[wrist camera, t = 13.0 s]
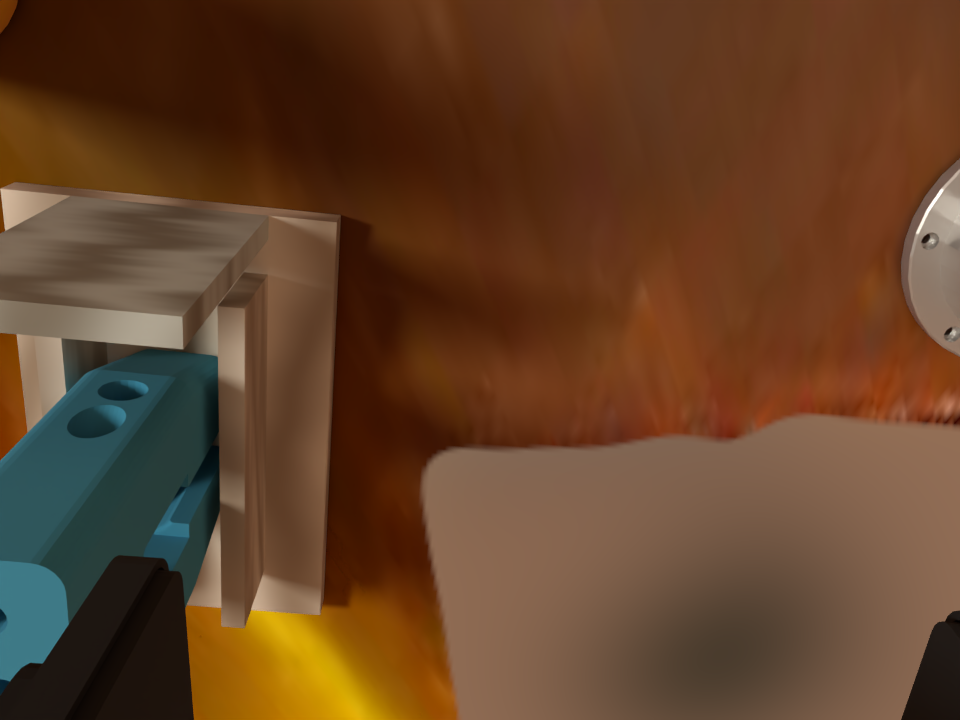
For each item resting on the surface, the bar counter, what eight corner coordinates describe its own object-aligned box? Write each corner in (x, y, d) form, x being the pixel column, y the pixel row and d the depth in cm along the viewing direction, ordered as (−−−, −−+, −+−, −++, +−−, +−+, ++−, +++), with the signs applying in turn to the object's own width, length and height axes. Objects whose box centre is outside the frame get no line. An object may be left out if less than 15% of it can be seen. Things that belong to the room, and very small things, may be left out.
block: (130, 315, 44) (-109, 551, 26) (229, 325, 44) (63, 566, 26) (139, 514, 49) (-58, 834, 30) (229, 522, 49) (88, 843, 31)
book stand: (340, 214, 44) (280, 325, 30) (323, 598, 53) (271, 822, 39) (15, 182, 43) (-208, 280, 29) (56, 578, 52) (-97, 800, 38)
